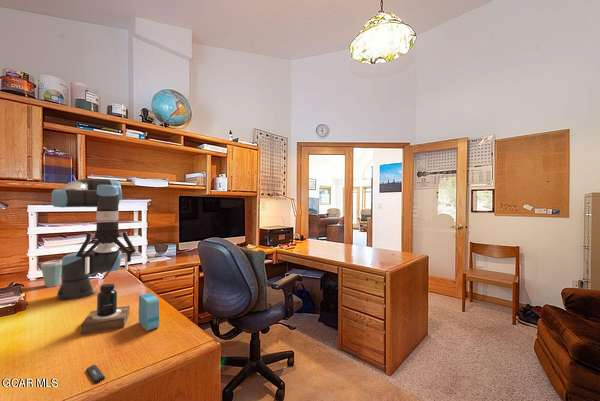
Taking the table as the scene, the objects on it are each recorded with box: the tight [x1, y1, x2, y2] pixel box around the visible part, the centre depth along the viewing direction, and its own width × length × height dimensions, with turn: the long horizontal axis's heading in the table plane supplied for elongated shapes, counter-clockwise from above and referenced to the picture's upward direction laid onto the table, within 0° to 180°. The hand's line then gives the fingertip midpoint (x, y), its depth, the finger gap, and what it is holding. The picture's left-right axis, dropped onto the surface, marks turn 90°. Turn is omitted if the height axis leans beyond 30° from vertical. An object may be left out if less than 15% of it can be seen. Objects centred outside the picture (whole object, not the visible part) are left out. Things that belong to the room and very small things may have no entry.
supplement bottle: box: [96, 283, 118, 317], centre depth 110 cm, size 7×7×12 cm
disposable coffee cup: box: [40, 259, 62, 288], centre depth 162 cm, size 11×11×15 cm
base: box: [80, 305, 130, 336], centre depth 110 cm, size 14×14×4 cm
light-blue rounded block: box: [138, 292, 160, 332], centre depth 109 cm, size 12×4×12 cm, turn 45°
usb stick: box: [85, 364, 106, 384], centre depth 77 cm, size 10×3×2 cm, turn 51°
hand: (107, 271), depth 111 cm, fingers open, 13 cm apart
